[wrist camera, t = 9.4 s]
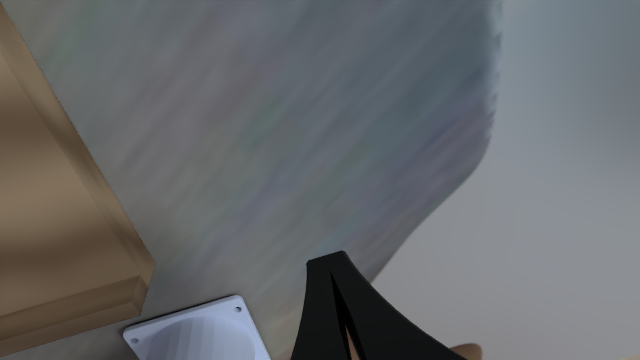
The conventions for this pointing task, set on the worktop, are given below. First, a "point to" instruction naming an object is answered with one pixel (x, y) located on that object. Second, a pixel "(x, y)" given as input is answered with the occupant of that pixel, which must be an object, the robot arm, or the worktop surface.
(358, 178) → the worktop surface
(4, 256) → the box
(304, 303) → the robot arm
